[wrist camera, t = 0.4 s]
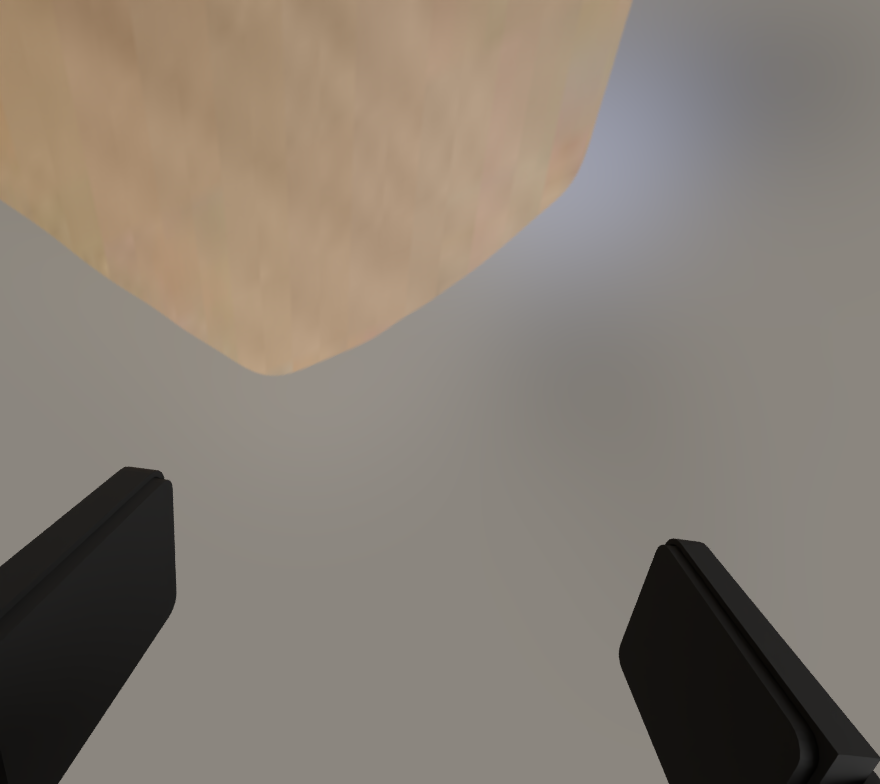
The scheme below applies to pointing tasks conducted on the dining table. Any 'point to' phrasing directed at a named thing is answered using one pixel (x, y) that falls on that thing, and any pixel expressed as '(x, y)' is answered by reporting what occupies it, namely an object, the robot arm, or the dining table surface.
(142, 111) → the dining table surface
